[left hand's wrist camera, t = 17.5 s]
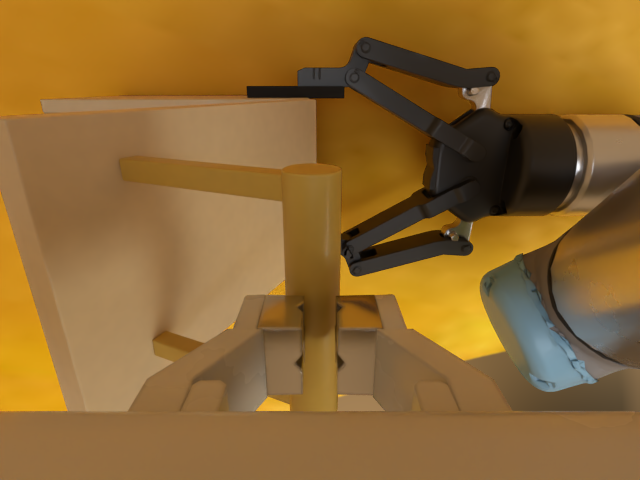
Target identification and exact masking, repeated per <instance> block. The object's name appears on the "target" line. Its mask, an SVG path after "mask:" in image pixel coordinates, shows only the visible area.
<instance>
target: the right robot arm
mask: <svg viewBox="0 0 640 480" xmlns="http://www.w3.org/2000/svg"><path fill="white" fill-rule="evenodd" d="M368 63H371V64H374V65H377V66H381V67H384V68H387V69H390V70H393V71H396V72H400V73H403V74H406V75H409V76H412V77H416V78H419V79H422V80H425V81H428V82H431V83H435V84H438V85H441V86H445V87H450V88H458V95H459V97H460V98H462V99H465V100H468V101H469V102H470V103H471V105H472V109H470V110H469V111H467V112H466V113H465V114H463V115H462V116H460V117H459V118H457V119H456V120H454V121H453V122H452V123H450V124H447V123H446V122H444V121H442V120H441V119H439V118H437V117H435V116H433V115H432V114H430V113H428V112H427V111H425V110H424V109H422V108H421V107H419V106H417V105H416V104H414V103H413V102H411V101H409V100H408V99H406V98H405V97H403V96H401V95H400V94H398V93H397V92H395V91H394V90H392V89H390V88H389V87H387V86H386V85H384V84H382V83H381V82H379V81H378V80H376V79H375V78H373V77H371V76H370V75H368V74H367V73H365V71H366V69H367V66H368ZM499 78H500V72H499V71H498V69H497V68H495V67H486V68H473V69H465V68H462V67H459V66H455V65H452V64H449V63H446V62H443V61H440V60H437V59H434V58H431V57H428V56H424V55H421V54H418V53H415V52H412V51H409V50H406V49H403V48H400V47H397V46H393V45H390V44H387V43H384V42H381V41H378V40H375V39H372V38H369V37H364V38H361V39H360V40H359V41H358V42H357V43H356V44H355V45H354V47H353V51H352V54H351V57H350V60H349V62H348V64H347V65H346V66H344V67H341V68H303V69H301V70H299V71H298V86H247V98H344V87H350V88H351V89H353V90H354V91H356V92H358V93H359V94H361V95H363V96H364V97H366V98H367V99H369V100H371V101H372V102H374V103H375V104H377V105H379V106H380V107H382V108H384V109H385V110H387V111H388V112H390V113H392V114H393V115H395V116H397V117H398V118H400V119H401V120H403V121H405V122H406V123H408V124H410V125H411V126H413V127H414V128H416V129H417V130H419V131H420V132H422V133H424V134H425V135H427V136H428V137H430V138H431V140H430V142H429V144H426V152H425V155H426V161H427V166H426V168H425V171H424V174H423V183H422V184H423V185H424V186H425V187H424V188H422V189H420V190H418V191H416V192H415V193H413V194H412V196H411V197H409V198H407V199H406V200H404V201H402V202H400V203H398V204H396V205H394V206H392V207H390V208H389V209H387V210H385V211H383V212H381V213H379V214H377V215H375V216H374V217H372V218H370V219H368V220H366V221H364V222H362V223H360V224H359V225H357V226H355V227H353V228H351V229H349V230H347V231H345V232H344V233H342V234H341V253H340V255H342V256H343V257H344V258H345V259H346V262H347V264H348V267H349V270H350V273H351V274H352V275H353V276H362V275H366V274H370V273H374V272H377V271H381V270H385V269H389V268H393V267H397V266H401V265H404V264H408V263H412V262H416V261H420V260H424V259H428V258H431V257H435V256H439V255H443V254H444V255H460V256H466V255H469V254H470V253H471V252H472V251H473V245H472V243H471V242H469V238H470V233H471V229H472V224H473V222H474V221H477V220H479V219H481V218H483V217H486V216H544V215H547V214H550V215H553V216H583V215H586V216H585V217H583V218H582V219H581V220H580V221H579V222H578V223H577V224H575V225H574V226H573V227H572V228H570V229H569V230H568V231H567V232H565V233H564V234H563V235H562V236H561V237H559V238H558V239H557V240H556V241H554V242H552V243H550V244H548V245H546V246H544V247H542V248H539V249H537V250H535V251H532V252H530V253H527V254H524V255H523V253H522V254H519V255H517V256H516V257H515V258H514V260H512V261H510V262H508V263H506V264H504V265H502V266H500V267H497V268H495V269H493V270H491V271H489V272H488V273H486V274H485V275H484V276H483V278H482V280H481V283H480V295H481V298H482V302H483V305H484V307H485V310H486V312H487V315H488V317H489V319H490V321H491V324H492V326H493V328H494V330H495V331H496V333H497V335H498V337H499V339H500V341H501V343H502V345H503V346H504V348H505V350H506V351H507V353H508V355H509V356H510V358H511V360H512V361H513V363H514V364H515V366H516V367H517V368H518V370H519V371H520V373H521V374H522V375H523V376H524V377H525V379H526V380H527V381H528V382H529V383H531V384H532V385H533V386H535V387H536V388H538V389H540V390H542V391H547V392H554V391H558V390H562V389H565V388H568V387H572V386H575V385H579V384H582V383H589V384H593V383H595V382H598V380H597V379H598V378H600V377H603V376H605V375H608V374H610V373H613V372H616V371H619V370H623V369H627V368H632V369H640V115H623V114H567V115H561V116H557V115H554V114H499V113H497V112H495V111H494V110H492V109H490V106H491V94H492V86H493V85H495V84H496V83H497V82H498V80H499ZM446 210H448V211H450V212H451V213H452V214H454V215H455V216H456V217H457V219H456V220H455V222H453V223H452V224H447V225H444V226H443V227H442V229H441V230H434V231H428V232H424V233H420V234H416V235H413V236H409V237H405V238H401V239H397V240H394V241H390V242H386V243H382V244H379V245H375V246H372V245H374V244H376V243H378V242H380V241H382V240H384V239H386V238H388V237H390V236H391V235H393V234H395V233H397V232H399V231H401V230H403V229H405V228H407V227H409V226H411V225H413V224H415V223H417V222H418V221H420V220H422V219H425V218H432V217H434V216H436V215H438V214H440V213H442V212H444V211H446ZM370 246H371V247H370Z"/></svg>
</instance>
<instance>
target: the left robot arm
mask: <svg viewBox="0 0 640 480" xmlns="http://www.w3.org/2000/svg"><path fill="white" fill-rule="evenodd" d="M335 321H336V325H335V363H336V382H337V394H344V395H373V397H374V399H375V400H376V401H377V402H378V403H379V404H380V406H381V407H382V408H383V409H384V410H385V411H256V409H257V408H258V407H259V406H260V405H261V404H262V403H263V401H264V400H265V399H266V398H267V395H295V394H303V384H304V363H305V325H304V323H305V296H296V295H246V296H245V297H244V300H243V303H242V306H241V308H240V311H239V314H238V317H237V319H236V322H235V325H234V328H233V329H227V330H225V331H223V332H222V333H220V334H218V335H217V336H215V337H214V338H212V339H210V340H209V341H207V342H206V343H204V344H202V345H201V346H199V347H198V348H196V349H194V350H193V351H191V352H189V353H188V354H186V355H185V356H183V357H181V358H180V359H178V360H177V361H175V362H173V363H172V364H170V365H169V366H167V367H165V368H164V369H162V370H160V371H159V372H157V373H156V374H154V375H152V376H151V377H149V378H148V379H147V380H146V381H145V383H144V385H143V386H142V388H141V390H140V391H139V393H138V395H137V396H136V398H135V400H134V401H133V403H132V405H131V406H130V408H129V410H128V411H0V480H640V411H512V409H511V408H510V406H509V404H508V403H507V401H506V399H505V398H504V396H503V394H502V393H501V391H500V389H499V388H498V386H497V384H496V382H495V381H494V379H492V378H491V377H489V376H487V375H486V374H484V373H483V372H481V371H479V370H478V369H476V368H475V367H473V366H471V365H470V364H468V363H467V362H465V361H463V360H462V359H460V358H459V357H457V356H455V355H454V354H452V353H451V352H449V351H447V350H446V349H444V348H442V347H441V346H439V345H438V344H436V343H434V342H433V341H431V340H430V339H428V338H426V337H425V336H423V335H422V334H420V333H418V332H417V331H415V330H414V329H407V327H406V325H405V322H404V319H403V316H402V314H401V311H400V308H399V306H398V303H397V300H396V298H395V296H394V295H393V294H391V295H349V296H335Z"/></svg>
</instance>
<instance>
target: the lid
mask: <svg viewBox="0 0 640 480" xmlns="http://www.w3.org/2000/svg"><path fill="white" fill-rule="evenodd" d="M0 190H1V194H2V197H3V200H4V203H5V207H6V210H7V213H8V217H9V220H10V223H11V226H12V230H13V233H14V236H15V239H16V243H17V246H18V249H19V253H20V256H21V259H22V262H23V266H24V269H25V272H26V275H27V279H28V282H29V285H30V289H31V292H32V295H33V298H34V302H35V305H36V308H37V312H38V315H39V318H40V321H41V325H42V328H43V331H44V334H45V338H46V341H47V344H48V348H49V351H50V354H51V357H52V361H53V364H54V367H55V370H56V374H57V377H58V380H59V384H60V387H61V390H62V393H63V397H64V400H65V403H66V407H67V410H68V411H128V410H129V408H130V406H131V405H132V403H133V401H134V400H135V398H136V396H137V395H138V393H139V391H140V390H141V388H142V386H143V385H144V383H145V381H146V380H147V379H148V378H149V377H151V376H152V375H154V374H156V373H157V372H159V371H160V370H162V369H164V368H165V367H167V366H169V365H170V364H172V363H173V362H175V361H177V360H178V359H180V358H181V357H183V356H185V355H186V354H188V353H189V352H191V351H193V350H194V349H196V348H198V347H199V346H201V345H202V344H204V343H206V342H207V341H209V340H210V339H212V338H214V337H215V336H217V335H218V334H220V333H221V332H223V331H224V330H225V329H226V328H227V327H229V326H230V325H231V324H232V323H233V322H235V321H236V319H237V317H238V314H239V311H240V308H241V306H242V303H243V300H244V297H245V296H246V295H267V294H268V293H269V292H271V291H272V290H273V289H274V288H275V287H277V286H278V285H279V284H280V283H281V282H283V281H284V280H285V290H286V295H296V296H305V323H304V325H305V363H304V384H303V394H295V395H267V396H268V397H271V398H274V399H277V400H279V401H282V402H285V403H288V404H290V411H337V407H338V394H337V382H336V363H335V325H336V321H335V296H340V253H341V202H342V169H341V168H340V167H338V166H335V165H330V164H320V163H316V99H294V100H277V101H259V102H242V103H224V104H207V105H189V106H171V107H154V108H136V109H119V110H101V111H84V112H66V113H48V114H31V115H13V116H0Z"/></svg>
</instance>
